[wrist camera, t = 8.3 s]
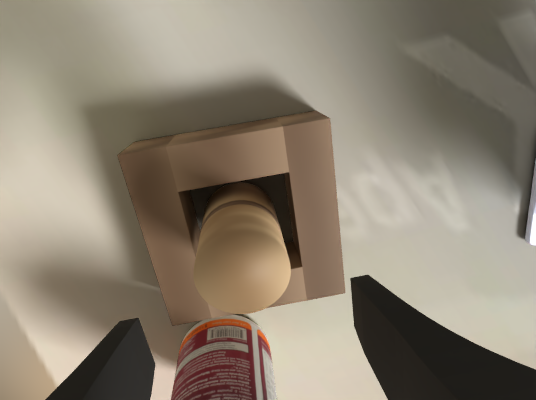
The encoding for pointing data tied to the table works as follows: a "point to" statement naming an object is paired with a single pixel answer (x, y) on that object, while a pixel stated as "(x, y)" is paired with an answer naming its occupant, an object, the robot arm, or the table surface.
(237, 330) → the pill bottle
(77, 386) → the robot arm
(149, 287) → the table surface
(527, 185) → the table surface
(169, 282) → the board
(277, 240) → the peg
